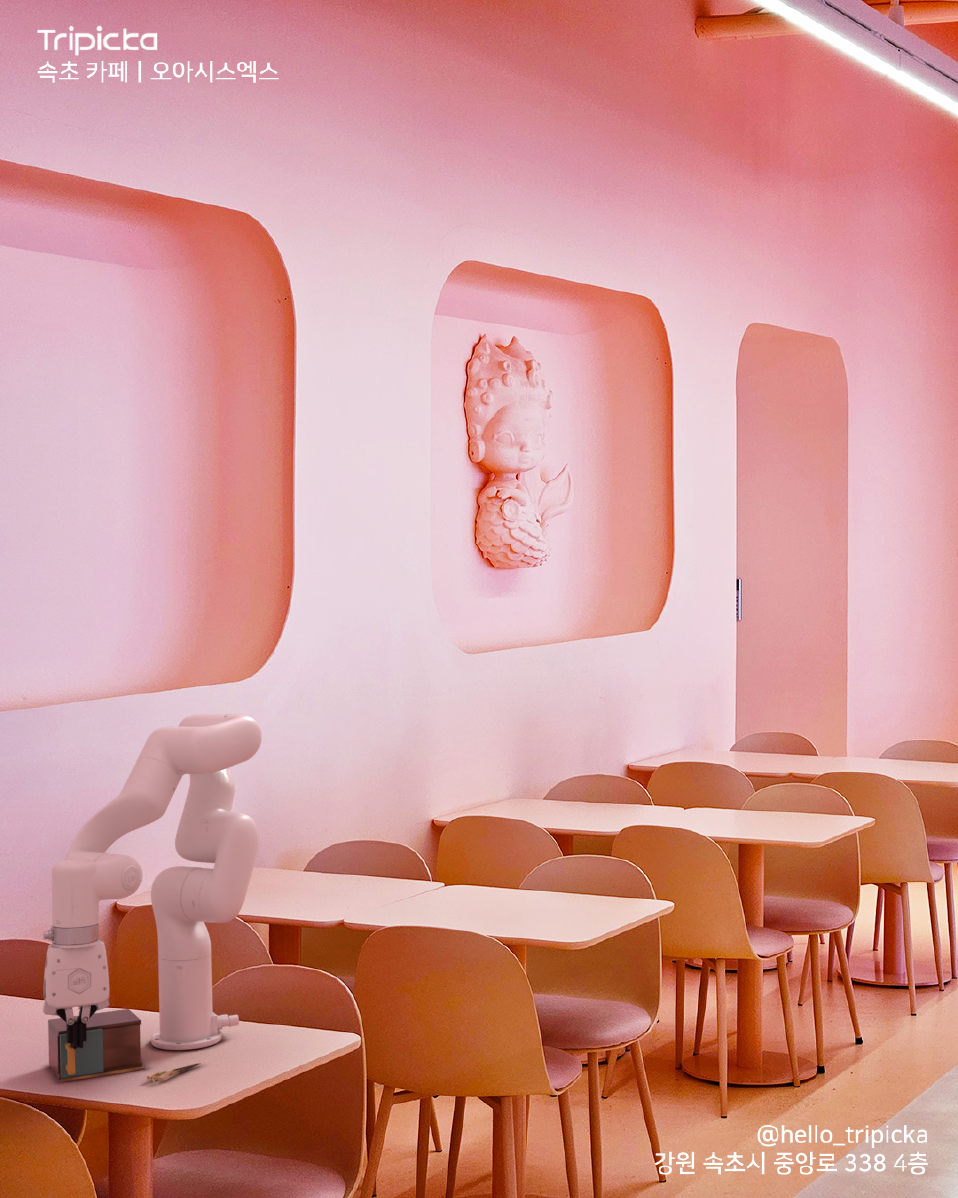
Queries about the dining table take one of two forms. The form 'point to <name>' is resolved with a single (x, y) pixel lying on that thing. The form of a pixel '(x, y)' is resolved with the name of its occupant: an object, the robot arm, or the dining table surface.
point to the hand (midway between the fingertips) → (76, 1046)
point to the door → (82, 1055)
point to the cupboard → (104, 1042)
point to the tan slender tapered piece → (170, 1073)
